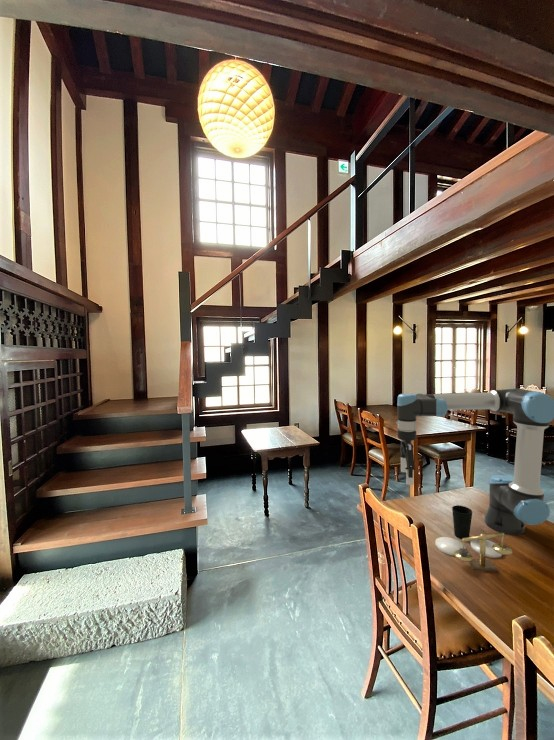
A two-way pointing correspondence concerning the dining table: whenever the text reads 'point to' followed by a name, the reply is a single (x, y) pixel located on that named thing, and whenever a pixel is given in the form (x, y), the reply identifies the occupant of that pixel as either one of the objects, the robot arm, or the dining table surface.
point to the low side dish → (448, 545)
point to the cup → (461, 521)
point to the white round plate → (489, 549)
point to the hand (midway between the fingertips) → (406, 477)
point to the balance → (482, 553)
